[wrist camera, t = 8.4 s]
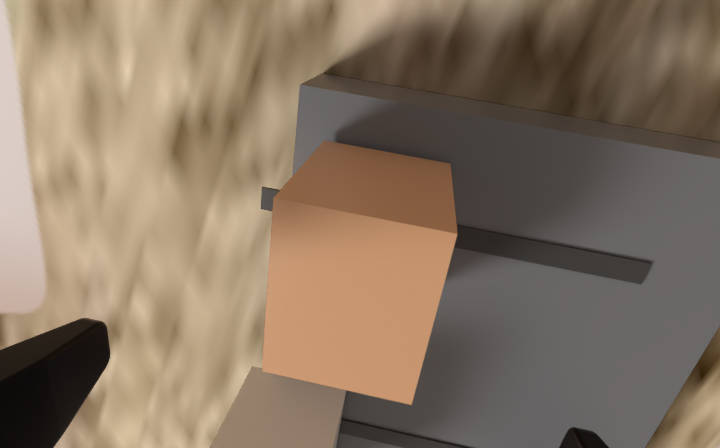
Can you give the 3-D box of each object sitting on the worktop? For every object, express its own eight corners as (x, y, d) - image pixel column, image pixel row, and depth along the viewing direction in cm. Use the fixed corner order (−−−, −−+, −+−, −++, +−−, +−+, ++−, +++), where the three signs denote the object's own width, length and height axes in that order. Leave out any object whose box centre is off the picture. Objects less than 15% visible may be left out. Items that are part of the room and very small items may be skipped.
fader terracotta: (450, 163, 14) (457, 234, 10) (418, 296, 16) (411, 404, 12) (324, 140, 14) (273, 198, 10) (309, 273, 16) (261, 371, 12)
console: (747, 147, 16) (815, 176, 13) (567, 483, 23) (585, 547, 21) (295, 68, 17) (267, 79, 14) (268, 414, 25) (247, 465, 22)
